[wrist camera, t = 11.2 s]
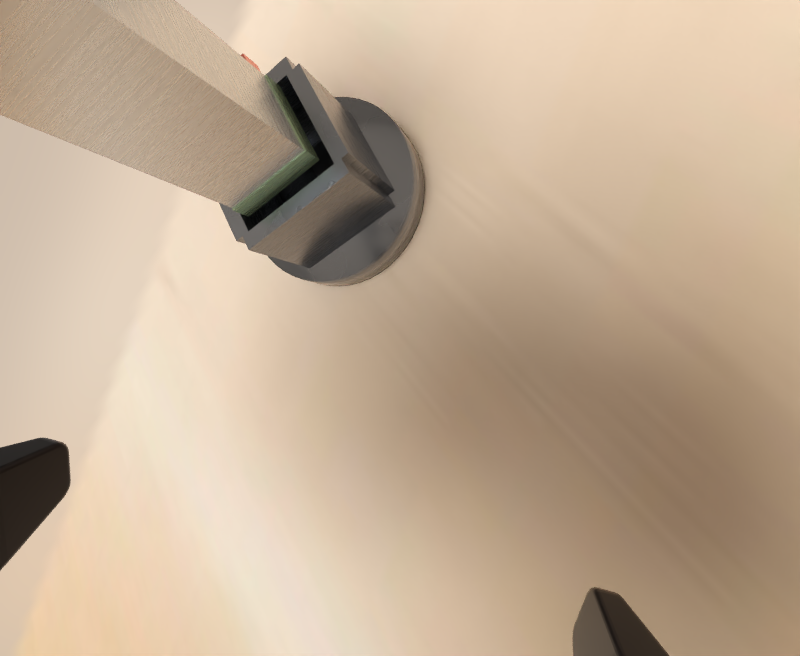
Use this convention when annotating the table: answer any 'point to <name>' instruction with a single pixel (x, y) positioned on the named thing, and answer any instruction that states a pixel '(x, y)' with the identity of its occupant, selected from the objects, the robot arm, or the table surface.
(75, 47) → the column
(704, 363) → the table surface
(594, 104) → the table surface
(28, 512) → the robot arm
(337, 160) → the stand
